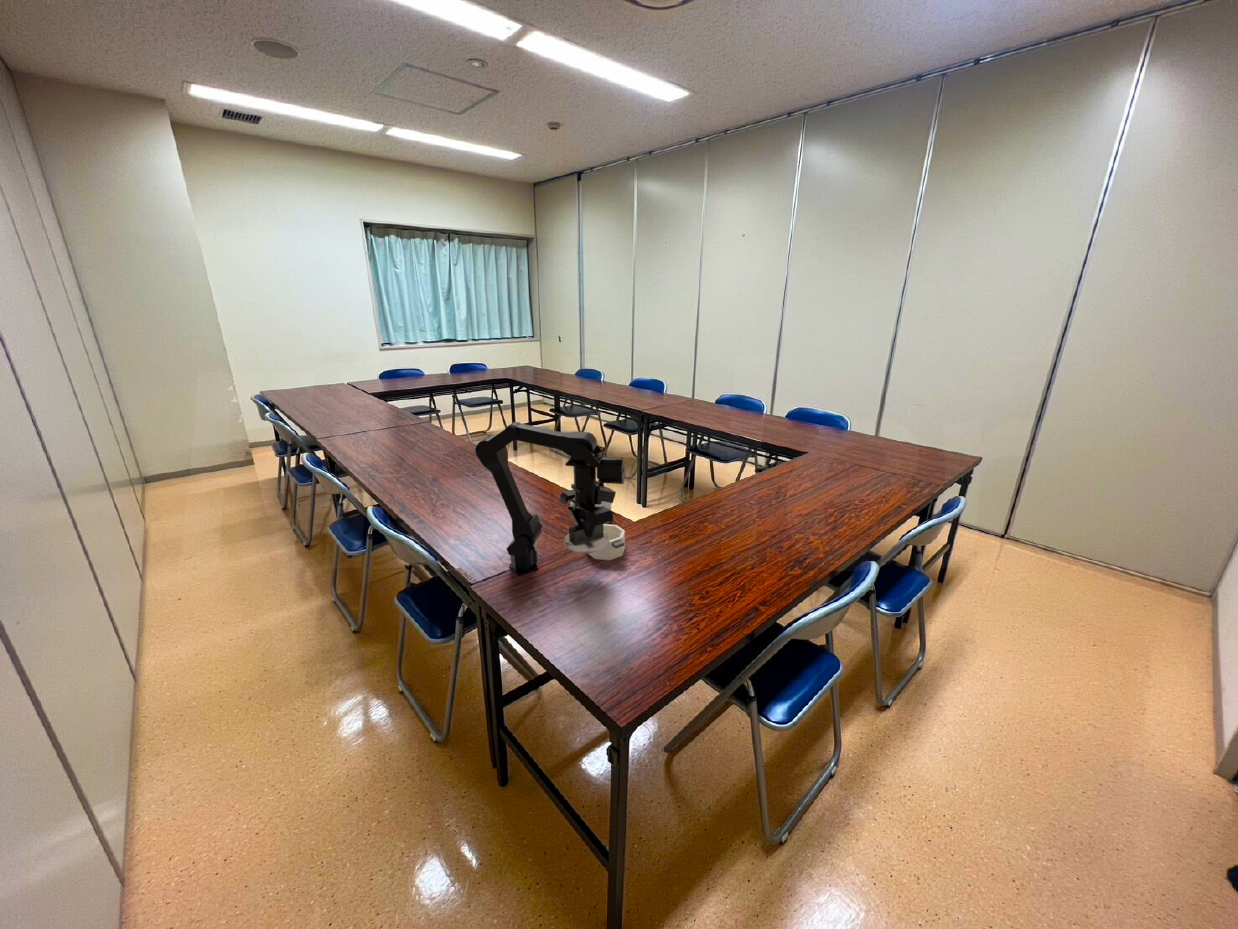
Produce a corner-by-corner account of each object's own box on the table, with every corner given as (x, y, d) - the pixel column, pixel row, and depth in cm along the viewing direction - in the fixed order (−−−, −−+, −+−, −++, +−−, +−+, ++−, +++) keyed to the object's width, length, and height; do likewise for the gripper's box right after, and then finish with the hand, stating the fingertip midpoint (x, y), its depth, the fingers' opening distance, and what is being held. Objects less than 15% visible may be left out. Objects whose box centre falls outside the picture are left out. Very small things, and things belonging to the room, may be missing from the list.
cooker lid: (578, 557, 121) (577, 540, 120) (557, 539, 131) (556, 522, 129) (617, 545, 128) (617, 528, 126) (594, 528, 137) (593, 512, 135)
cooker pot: (604, 566, 136) (604, 548, 134) (577, 545, 147) (577, 528, 145) (635, 555, 142) (635, 537, 140) (607, 535, 153) (606, 519, 151)
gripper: (631, 485, 120) (630, 540, 125) (593, 465, 135) (594, 515, 140) (593, 495, 114) (594, 552, 120) (558, 473, 129) (560, 524, 134)
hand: (586, 534), depth 128 cm, fingers closed on cooker lid, 3 cm apart
